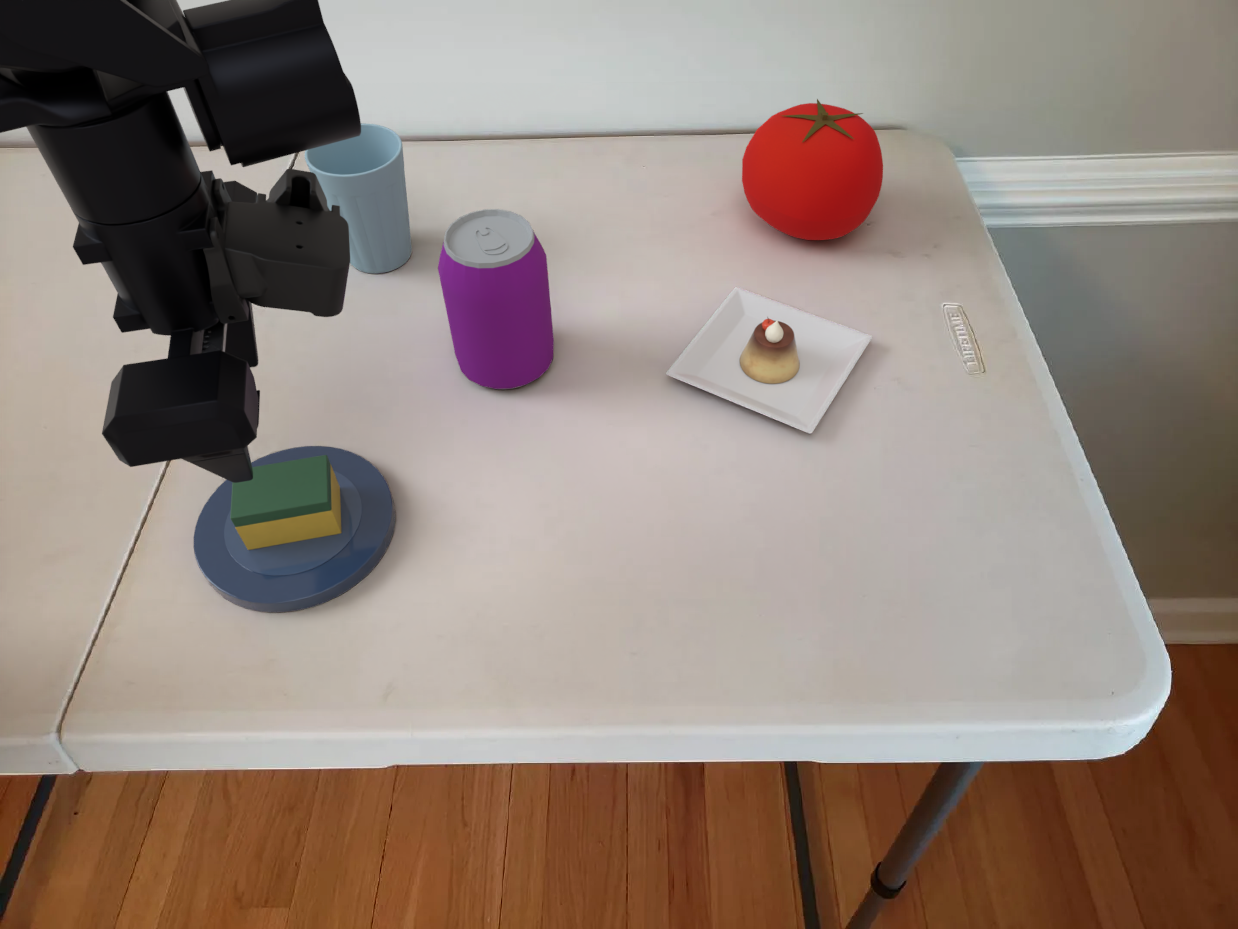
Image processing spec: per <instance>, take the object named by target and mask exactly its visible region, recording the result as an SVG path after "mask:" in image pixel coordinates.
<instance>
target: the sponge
mask: <svg viewBox="0 0 1238 929" xmlns="http://www.w3.org/2000/svg"><path fill="white" fill-rule="evenodd" d="M252 469H253V479H252V480H250V481H244V482H238V483H234V482H232V498H231V514H230V519H231V520H232V522H233V524H234V526H235V528H236V530H237V532H238V533H239V535H240V537H241V539H242V540H243V542H244V544H245V546H246V548H247V549H248V550H251V549H257V548H262V547H268V546H274V545H279V544H285V543H290V542H296V541H302V540H307V539H313V538H318V537H324V536H330V535H335V534H341V506H340V486H339V484H338V481H337V479H336V476H335V474H334V471H333V469H332V466H331V464H330V461H329V459H328V456H327V455H322V456H316V457H310V458H304V459H298V460H292V461H286V462H280V463H274V464H268V465H263V466H257V467H252Z"/></svg>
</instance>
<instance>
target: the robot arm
mask: <svg viewBox="0 0 1238 929" xmlns="http://www.w3.org/2000/svg"><path fill="white" fill-rule="evenodd" d="M320 6H321V5H320V2H319V0H224V1H219V2H215V3H210V4H204V5H200V6H196V7H192V8H187V9H183V10H182V9H181V7H180V4H179V2H178V0H0V134H2V133H6V132H10V131H14V130H18V129H19V130H20V129H22V128H26V130H27V131H28V133H29V135H30V136H31V139H32V141H33V142H34V144H35V145H36V148H37V149H38V151H39V153H40V155H41V157H42V158H43V160H44V162H45V163H46V165H47V167H48V169H49V171H50V174H52V177H53V178H54V180H55V182H56V184H57V185H58V187H59V189H60V191H61V192H62V194H63V197H64V198H65V200H66V202H67V204H68V205H69V207H70V209H71V211H72V213H73V215H74V217H75V218H76V221H77V223H78V225H77V229H76V233H75V236H74V241H73V244H72V248H73V251H74V252H75V254H76V256H77V257H78V259H79V261H80V262H81V264H82V266H86V265H92V264H101V265H102V267H103V269H104V271H105V273H106V274H107V277H108V278H109V280H110V282H111V284H112V285H113V287H114V289H115V291H116V299H115V303H114V310H113V314H112V319H113V321H114V322H115V324H116V326H117V327H118V329H119V331H120V332H121V334H123V333H130V332H131V333H132V332H137V331H144V330H150V331H151V333H152V334H154V335H157V336H166V337H167V336H169V337H170V339H169V345H168V352H167V358H160V359H154V360H153V359H152V360H147V361H140V362H133V363H127V364H123V365H122V366H121V367H120V369H119V370H118V372H117V374H116V375H115V376H114V377H113V379H112V380H111V383H110V389H109V393H108V399H107V404H106V410H105V415H104V420H103V426H102V429H101V435H102V437H103V438H104V440H105V441H106V442H107V444H108V445H109V448H111V450H112V451H113V453H114V454H115V456H116V457H117V459H118V460H119V461H120V462H122V463H123V464H124V465H127V466H128V467H130V468H133V467H140V466H145V465H151V464H158V463H163V462H170V461H176V460H183V461H184V462H187V463H190V464H192V465H194V466H196V467H199V468H201V469H203V470H205V471H207V472H209V473H212V474H214V475H216V476H217V477H220V478H223V479H224V480H226V479H227V480H229V481H231V482H234V483H238V482H244V481H250V480H252V479H253V469H252V464H251V462H252V460H251V455H250V450H249V445H250V444H251V443H252V442H254V441H255V440H256V439H257V437H258V428H259V424H260V403H261V390H260V389H257V385H256V380H255V376H254V374H253V372H252V369H251V368H257V366H258V365H259V353H258V344H257V336H256V327H255V319H254V312H253V305H254V306H255V305H256V306H258V307H260V308H269V309H278V310H286V311H294V312H295V311H296V312H304V313H309V314H310V313H311V314H312V315H313V316H315V317H321V318H331V317H336V316H338V315H340V314H341V313H342V311H343V309H344V304H345V297H346V291H347V283H348V277H349V273H350V272H349V271H350V265H351V263H350V243H349V226H348V223H347V221H346V220H345V219H344V218H343V217H342V216H340V206H337V205H332V208H331V211H330V210H329V208H328V206H327V199H326V196H325V194H324V192H323V190H322V187H321V185H320V183H319V181H318V179H317V176H316V174H314V173H313V172H310V171H306V170H301V169H295V168H287V169H285V171H284V172H283V173H282V175H281V176H280V177H279V178H278V179H277V181H276V182H275V184H274V185H272V187H271V189H270V190H269V192H268V198H267V194H266V193H260V192H257V191H255V190H253V189H252V188H249V187H248V186H246V185H244V184H242V183H240V182H238V181H237V180H229V181H227V180H226V181H224V180H223V179H222V178H221V177H220V178H216V176H215V174H214V171H213V170H204V171H203V170H202V171H201V170H200V167H199V165H198V162H197V160H196V157H195V155H194V153H193V151H192V148H191V146H190V143H189V141H188V138H187V135H186V133H185V131H184V129H183V126H182V124H181V121H180V118H179V115H178V114H177V112H176V109H175V106H174V103H173V101H172V98H171V96H170V94H169V92H171V91H174V90H179V89H183V90H184V93H185V96H186V98H187V101H188V103H189V106H190V108H191V111H192V113H193V116H194V119H195V120H196V123H197V125H198V128H199V131H200V133H201V135H202V138H203V140H204V142H205V144H206V147H207V149H208V151H209V152H214V151H218V150H221V149H222V147H223V151H224V152H225V156H226V157H227V159H228V162H229V164H230V166H235V165H239V164H240V165H241V167H242V168H246V167H250V166H253V165H257V164H261V163H265V162H268V161H272V160H276V159H279V158H283V157H287V156H291V155H295V154H297V153H302V152H305V150H309V149H313V148H316V147H320V146H324V145H327V144H331V143H335V142H338V141H342V140H346V139H349V138H353V137H357V136H360V134H361V123H362V122H361V116H360V111H359V106H358V102H357V97H356V94H355V89H354V87H353V84H352V82H351V80H349V78H348V76H347V74H346V73H345V72H344V68H343V66H342V63H341V61H340V58H339V55H338V52H337V50H336V47H335V44H334V42H333V40H332V38H331V35H330V33H329V31H328V29H327V27H326V24H325V22H324V17H323V14H322V10H321V7H320Z"/></svg>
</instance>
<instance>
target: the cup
mask: <svg viewBox="0 0 1238 929" xmlns="http://www.w3.org/2000/svg"><path fill="white" fill-rule="evenodd" d="M403 148H404V146H403V141H402V138H401V137H400V135H399V134H398V133H397V132H396V131H394V130H393V129H391V128H389V127H386V126H384V125H380V124H375V123H366V122H365V123H362V122H361V134H360V136H357V137H353V138H349V139H346V140H342V141H338V142H335V143H331V144H327V145H324V146H320V147H316V148H313V149H309V150H305V151H304V160H305V161H304V162H305V163H306V166H307V167H308V170H309V172H313V173H314V174H316V176H317V179H318V181H319V183H320V185H321V187H322V190H323V192H324V194H325V196H326V199H327V206H328V208H329V210H330V211H331V208H332V205H337V206H340V216H342V217H343V218H344V219H345V220H346V221H347V223H348V226H349V243H350V265H351V266H352V267H353V268H355V269H356V270H358V271H359V272H363V273H366V274H384V273H388V272H392V271H395V270H397V269H399V268H401V267H402V266H404V264H406V263H407V262H408V261H409V260H410V257H411V256H412V251H413V249H412V237H411V226H410V216H409V206H408V205H409V202H408V194H407V182H406V173H405V172H406V171H405V159H404V149H403Z"/></svg>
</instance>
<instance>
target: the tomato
mask: <svg viewBox="0 0 1238 929" xmlns="http://www.w3.org/2000/svg"><path fill="white" fill-rule="evenodd" d="M863 114H864V112H860V113H859V112H857V113H856V112H853V111H852V110H849V109H846V108H844V107H841V106H836V105H832V104H826V103H821V101H820V100H819V98H816V102H807V103H800V104H797V105H794V106H791V107H788V108H786V109H783V110H781V111H778V112H777V113H775V114H773V115H771V116H770V117H769V118H768V119H767V120H766V121H765V122H764V123H762V125H760V126H759V127H758V128H756V130H755V132H754V134H753V135H752V137H751V138H750V140H749V142H748V144H747V145H746V147H745V150H744V154H743V156H742V160H741V161H742V162H741V163H742V164H741V165H742V166H741V168H742V169H741V183H742V187H743V193H744V195H745V198H746V201H747V202H748V204H749V206H750V208H751V210H752V211H753V212H754V213H755V214H756V216H758V217H759V218H760V219H762V221H764V222H765V223H766V224H768V225H769V226H770V227H772V228H774V229H775V230H777V231H779V232H781V233H783V234H785V235H788V236H790V237H792V238H793V237H794V238H796V239H800V240H806V241H807V240H808V241H825V240H835V239H837V238H842V237H844V236H846V235H848V234H850V233H851V232H853V231H854V230H856V229H857V228H858V227H859V226H861V225H862V224H863V223H864V222H865V221H866V219H867V218H868V216H869V215H870V214H871V212H872V210H873V209H874V207H875V205H876V203H877V201H878V199H879V197H880V194H881V190H882V186H883V178H884V160H883V153H882V148H881V145H880V142H879V138H878V136H877V133H876V130H875V129H874V128H873V126H871V125H870V124H869V123H868V122H867V121H866V120H865V119H864V118H863V117H861V116H860V115H863Z"/></svg>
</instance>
